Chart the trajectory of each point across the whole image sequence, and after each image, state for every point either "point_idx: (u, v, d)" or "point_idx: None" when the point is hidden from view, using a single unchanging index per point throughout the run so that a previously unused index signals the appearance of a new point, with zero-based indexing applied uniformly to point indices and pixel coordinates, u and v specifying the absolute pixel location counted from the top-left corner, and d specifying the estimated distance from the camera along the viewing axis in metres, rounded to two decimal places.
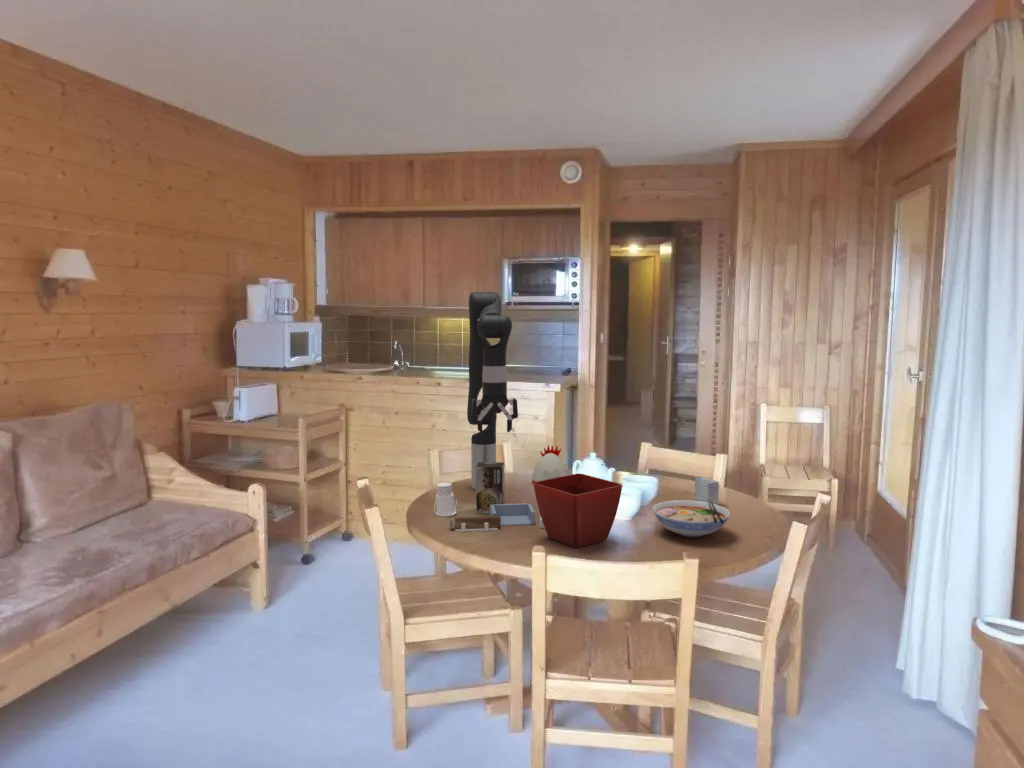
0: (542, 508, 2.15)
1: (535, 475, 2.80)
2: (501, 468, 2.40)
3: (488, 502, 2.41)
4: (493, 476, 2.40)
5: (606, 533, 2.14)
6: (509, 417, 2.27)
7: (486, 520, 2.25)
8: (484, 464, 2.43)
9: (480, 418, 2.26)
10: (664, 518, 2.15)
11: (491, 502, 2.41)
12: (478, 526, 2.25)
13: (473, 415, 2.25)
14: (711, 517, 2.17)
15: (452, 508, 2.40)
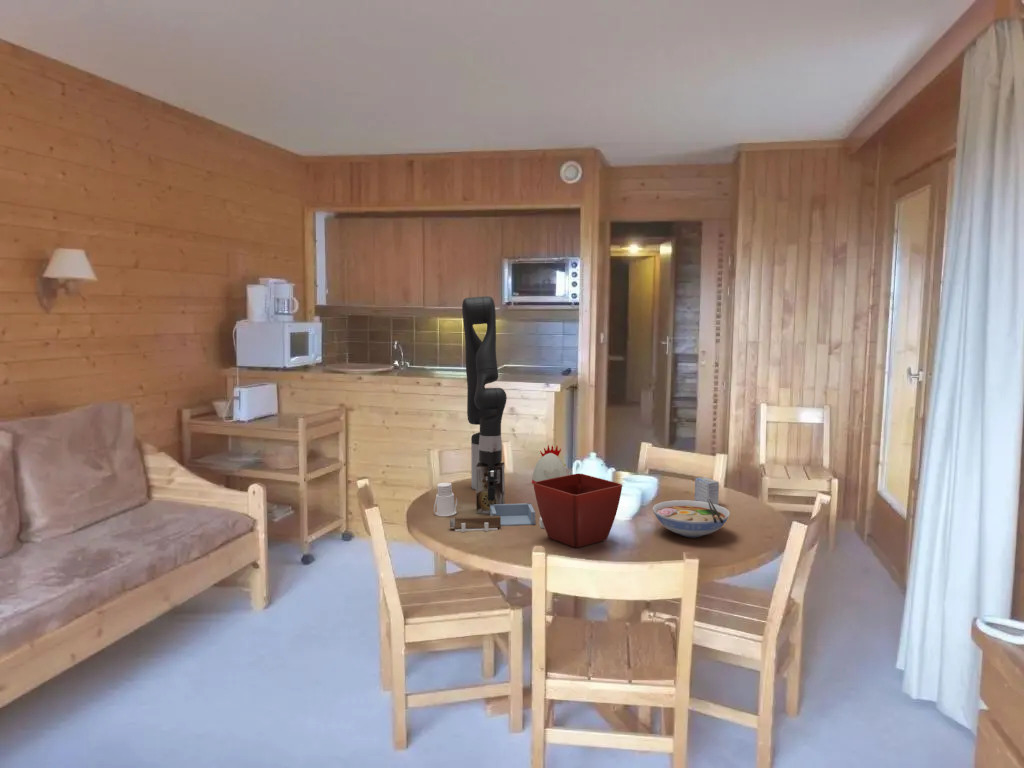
0: (542, 508, 2.15)
1: (535, 475, 2.80)
2: (501, 468, 2.40)
3: (488, 502, 2.41)
4: None
5: (606, 533, 2.14)
6: None
7: (486, 520, 2.25)
8: (484, 464, 2.43)
9: None
10: (664, 518, 2.15)
11: (491, 502, 2.41)
12: (478, 526, 2.25)
13: (495, 485, 2.38)
14: (711, 517, 2.17)
15: (452, 508, 2.40)
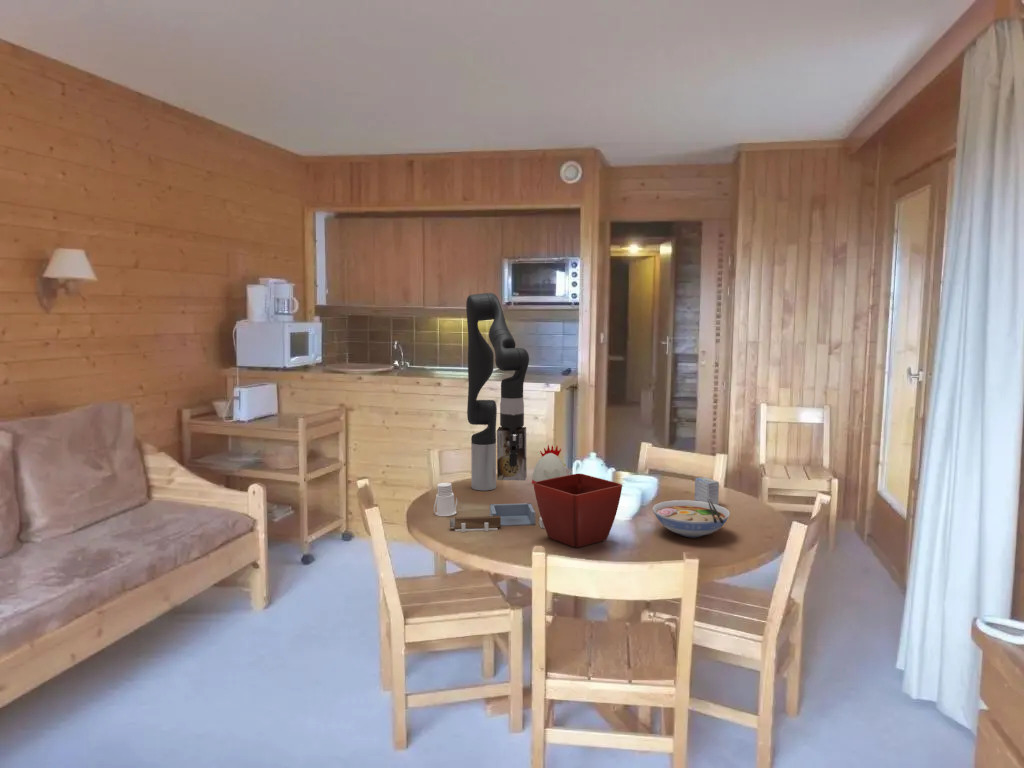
0: (542, 508, 2.15)
1: (535, 475, 2.80)
2: (523, 432, 2.28)
3: (509, 468, 2.30)
4: None
5: (606, 533, 2.14)
6: None
7: (486, 520, 2.25)
8: (505, 428, 2.31)
9: None
10: (664, 518, 2.15)
11: (513, 468, 2.30)
12: (478, 526, 2.25)
13: None
14: (711, 517, 2.17)
15: (452, 508, 2.40)
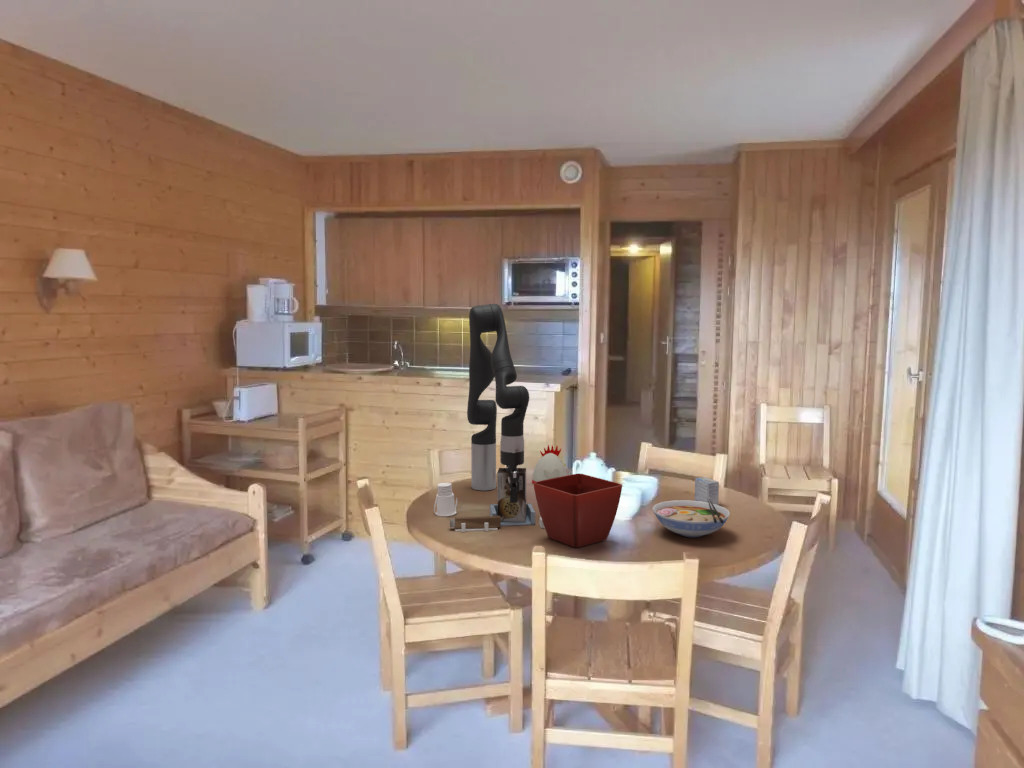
0: (542, 508, 2.15)
1: (535, 475, 2.80)
2: (524, 474, 2.30)
3: (510, 510, 2.31)
4: None
5: (606, 533, 2.14)
6: None
7: (486, 520, 2.25)
8: (505, 470, 2.33)
9: None
10: (664, 518, 2.15)
11: (513, 510, 2.31)
12: (478, 526, 2.25)
13: (518, 487, 2.27)
14: (711, 517, 2.17)
15: (452, 508, 2.40)
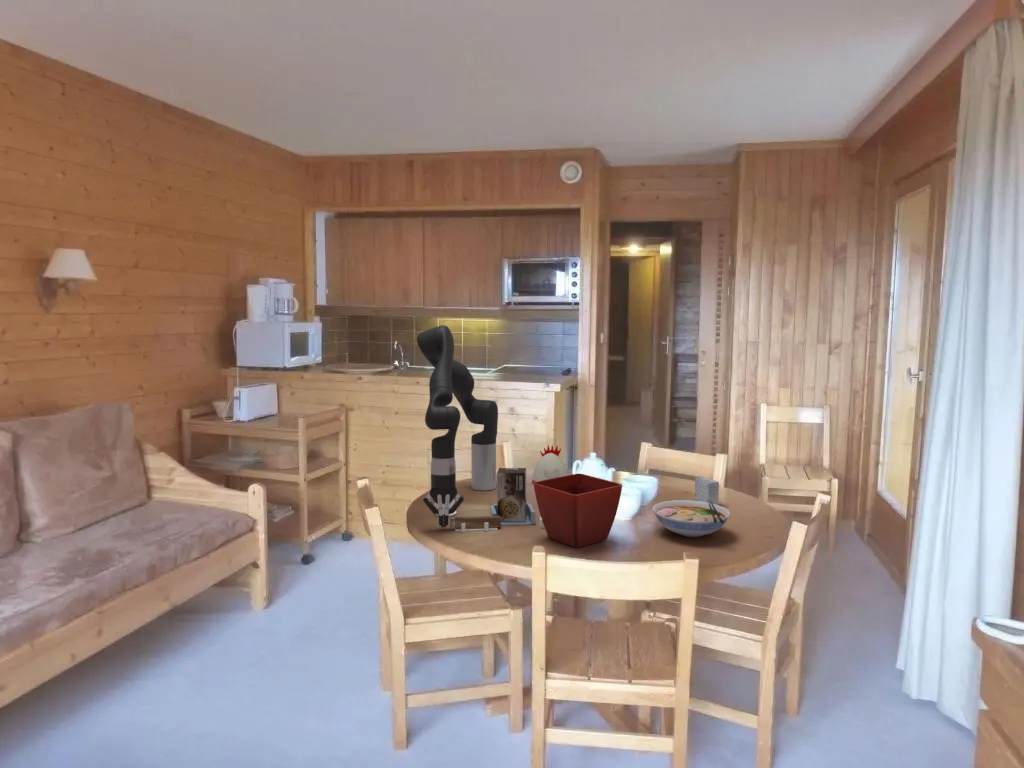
0: (542, 508, 2.15)
1: (535, 475, 2.80)
2: (524, 474, 2.30)
3: (510, 510, 2.31)
4: (516, 482, 2.30)
5: (606, 533, 2.14)
6: None
7: (486, 520, 2.25)
8: (505, 470, 2.33)
9: None
10: (664, 518, 2.15)
11: (513, 510, 2.31)
12: (478, 526, 2.25)
13: None
14: (711, 517, 2.17)
15: None
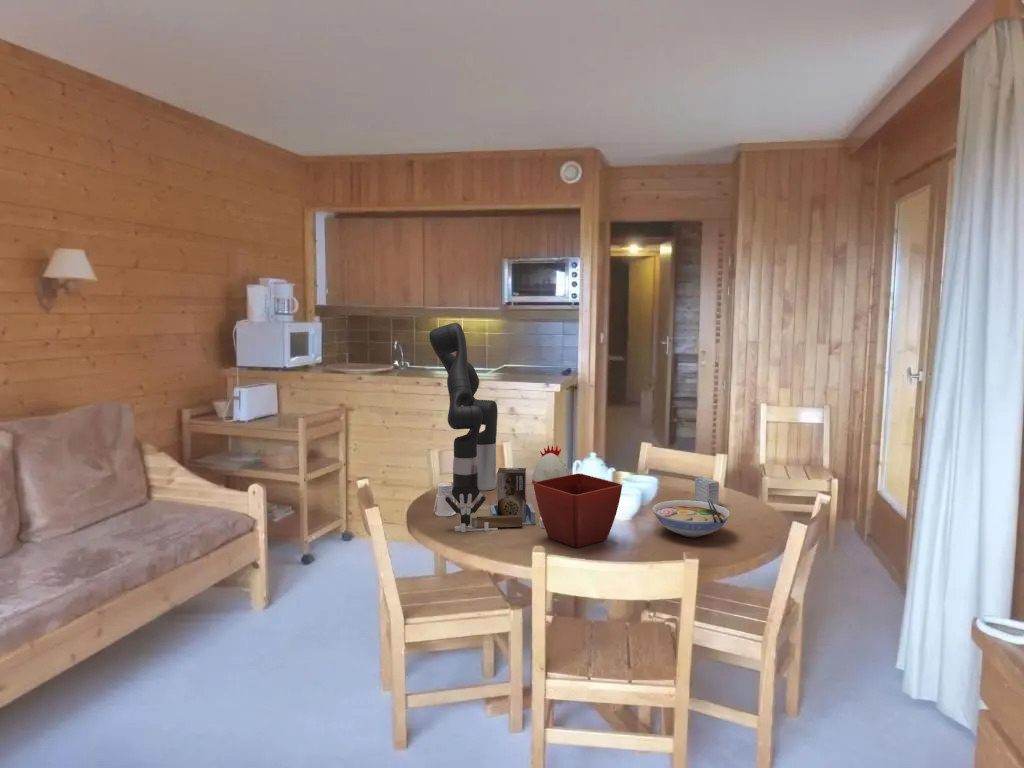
0: (542, 508, 2.15)
1: (535, 475, 2.80)
2: (524, 474, 2.30)
3: (510, 510, 2.31)
4: (516, 482, 2.30)
5: (606, 533, 2.14)
6: None
7: (508, 519, 2.26)
8: (505, 470, 2.33)
9: None
10: (664, 518, 2.15)
11: (513, 510, 2.31)
12: (500, 525, 2.26)
13: None
14: (711, 517, 2.17)
15: None
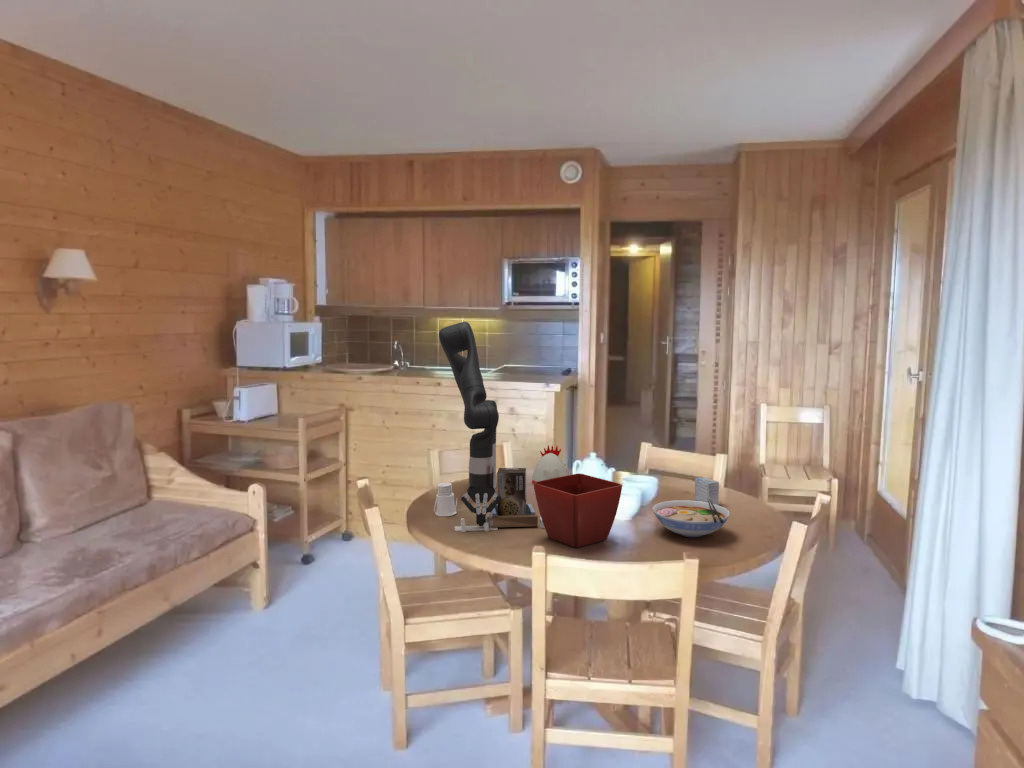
0: (542, 508, 2.15)
1: (535, 475, 2.80)
2: (524, 474, 2.30)
3: (510, 510, 2.31)
4: (516, 482, 2.30)
5: (606, 533, 2.14)
6: None
7: (523, 519, 2.27)
8: (505, 470, 2.33)
9: None
10: (664, 518, 2.15)
11: (513, 510, 2.31)
12: (515, 525, 2.27)
13: None
14: (711, 517, 2.17)
15: (452, 508, 2.40)
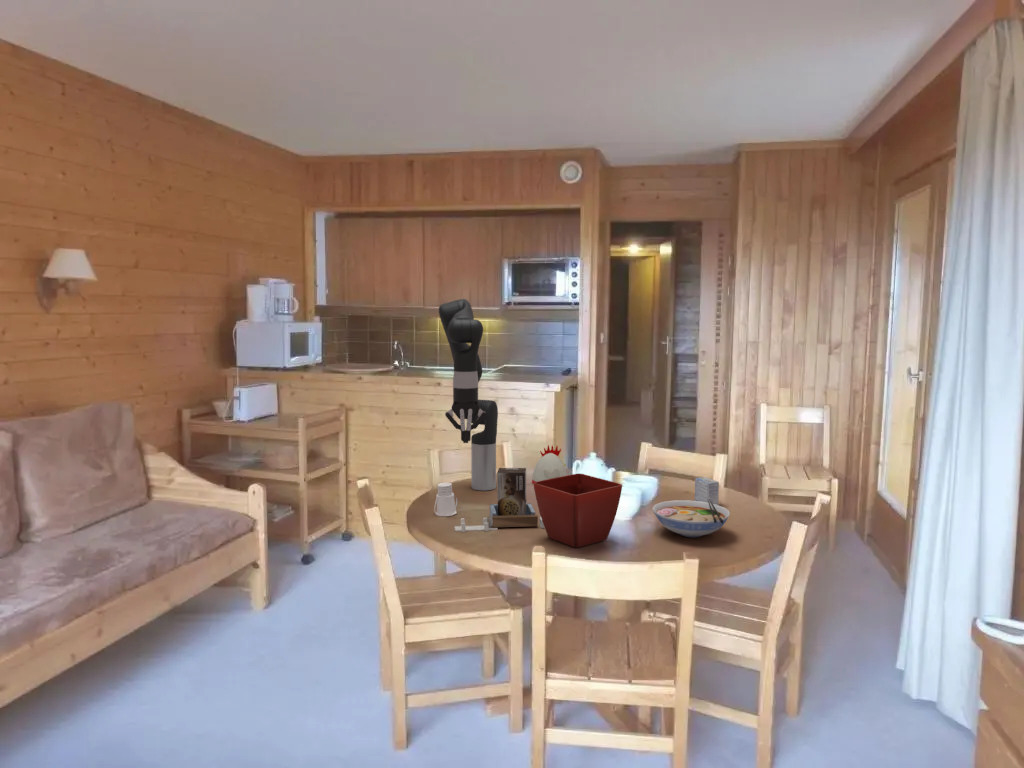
0: (542, 508, 2.15)
1: (535, 475, 2.80)
2: (524, 474, 2.30)
3: (510, 510, 2.31)
4: (516, 482, 2.30)
5: (606, 533, 2.14)
6: None
7: (523, 519, 2.27)
8: (505, 470, 2.33)
9: None
10: (664, 518, 2.15)
11: (513, 510, 2.31)
12: (515, 525, 2.27)
13: None
14: (711, 517, 2.17)
15: (452, 508, 2.40)
